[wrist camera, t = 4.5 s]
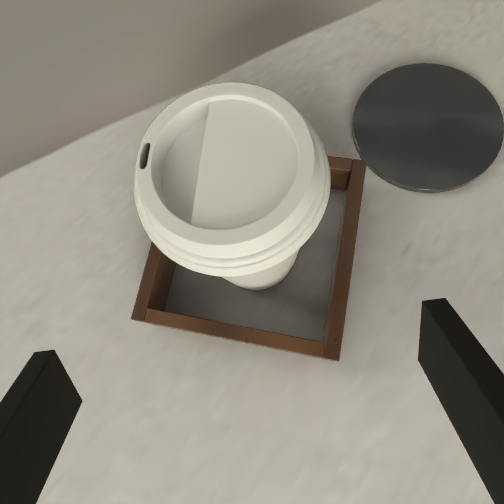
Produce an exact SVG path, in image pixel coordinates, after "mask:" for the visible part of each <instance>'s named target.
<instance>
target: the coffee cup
mask: <svg viewBox="0 0 504 504" xmlns="http://www.w3.org/2000/svg"><path fill="white" fill-rule="evenodd" d="M330 184H331V176H330V167H329V162H328V158H327V155H326V152H325V149H324V147H323V144H322V142H321V140H320V138H319V136H318V134H317V132H316V131H315V129H314V128H313V127H312V125H311V124H310V123H309V122H308V120H307V119H306V118H305V117H304V116H303V115H302V114H301V113H300V112H299V111H298V110H297V109H295V108H294V107H293V106H292V105H291V104H290V103H289V102H288V101H287V100H285V99H284V98H283V97H281V96H280V95H278V94H276V93H274V92H272V91H270V90H268V89H266V88H263V87H260V86H257V85H253V84H247V83H238V82H226V83H217V84H211V85H207V86H204V87H200V88H198V89H195V90H193V91H190V92H188V93H186V94H184V95H183V96H181V97H179V98H178V99H176V100H175V101H173V102H172V103H171V104H169V105H168V106H167V107H166V108H165V109H163V110H162V111H161V112H160V114H159V115H158V116H157V117H156V118H155V119H154V121H153V122H152V123H151V125H150V126H149V128H148V129H147V131H146V133H145V135H144V137H143V139H142V142H141V144H140V147H139V151H138V155H137V161H136V168H135V176H134V194H135V202H136V206H137V210H138V213H139V216H140V219H141V222H142V224H143V227H144V229H145V231H146V232H147V234H148V236H149V237H150V239H151V240H152V241H153V243H154V244H155V245H156V246H157V247H158V248H159V249H160V250H161V251H162V252H163V253H164V254H165V255H166V256H167V257H169V258H170V259H171V260H173V261H174V262H176V263H178V264H179V265H181V266H183V267H185V268H188V269H190V270H193V271H196V272H199V273H202V274H207V275H213V276H221V277H222V278H224V279H226V280H228V281H229V282H231V283H233V284H234V285H236V286H238V287H241V288H244V289H248V290H263V289H267V288H270V287H272V286H274V285H276V284H278V283H279V282H281V281H282V280H283V279H284V278H285V277H286V276H287V275H288V274H289V272H290V271H291V269H292V267H293V265H294V262H295V259H296V257H297V254H298V251H299V249H300V247H301V246H302V245H303V244H304V243H305V242H306V241H307V240H308V239H309V238H310V236H311V235H312V234H313V232H314V231H315V229H316V228H317V226H318V225H319V223H320V221H321V219H322V217H323V215H324V212H325V209H326V206H327V203H328V199H329V194H330Z"/></svg>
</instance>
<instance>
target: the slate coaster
mask: <svg viewBox="0 0 504 504" xmlns="http://www.w3.org/2000/svg"><path fill="white" fill-rule="evenodd" d="M352 136H353V140H354V144H355V146H356V149H357V151H358V153H359V155H360V157H361V158H362V160H365V161H367V162H366V165H367V166H368V167H369V168H370V169H371V170H372V171H373V172H374V173H375V174H376V175H378V176H379V177H380V178H382V179H383V180H385V181H387V182H388V183H390V184H393V185H395V186H397V187H400V188H403V189H406V190H410V191H415V192H424V193H435V192H444V191H449V190H453V189H456V188H459V187H462V186H464V185H466V184H468V183H470V182H472V181H473V180H475V179H476V178H478V177H479V176H480V175H481V174H483V173H484V172H485V171H486V170H487V169H488V167H489V166H490V165H491V164H492V163H493V161H494V160H495V159H496V157H497V155H498V153H499V151H500V149H501V145H502V142H503V136H504V122H503V117H502V113H501V111H500V108H499V106H498V104H497V102H496V100H495V98H494V97H493V96H492V94H491V93H490V92H489V91H488V90H487V88H486V87H485V86H484V85H483V84H481V83H480V82H479V81H478V80H476V79H475V78H473V77H472V76H470V75H469V74H467V73H465V72H462V71H460V70H458V69H455V68H452V67H449V66H445V65H439V64H431V63H420V64H411V65H405V66H402V67H398V68H395V69H393V70H391V71H388V72H386V73H385V74H383V75H381V76H380V77H378V78H377V79H376V80H374V81H373V82H372V83H371V84H370V85H369V86H368V87H367V88H366V89H365V91H364V92H363V93H362V95H361V96H360V98H359V100H358V102H357V104H356V107H355V110H354V114H353V119H352Z"/></svg>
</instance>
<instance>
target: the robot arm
mask: <svg viewBox="0 0 504 504" xmlns="http://www.w3.org/2000/svg"><path fill="white" fill-rule="evenodd" d="M418 361H419V363H420V364H421V366H422V368H423V370H424V372H425V374H426V376H427V378H428V380H429V381H430V383H431V385H432V387H433V389H434V391H435V393H436V395H437V396H438V398H439V400H440V402H441V404H442V406H443V408H444V410H445V411H446V413H447V415H448V417H449V419H450V421H451V423H452V425H453V426H454V428H455V430H456V432H457V434H458V436H459V438H460V440H461V441H462V443H463V445H464V447H465V449H466V451H467V453H468V455H469V456H470V458H471V460H472V462H473V464H474V466H475V468H476V470H477V471H478V473H479V475H480V477H481V479H482V481H483V483H484V485H485V486H486V488H487V490H488V492H489V494H490V496H491V498H492V500H493V501H494V503H495V504H504V374H503V373H502V372H501V370H500V369H499V368H498V366H497V365H496V364H495V362H494V361H493V360H492V358H491V357H490V356H489V355H488V353H487V352H486V351H485V349H484V348H483V347H482V345H481V344H480V343H479V341H478V340H477V339H476V338H475V336H474V335H473V334H472V332H471V331H470V330H469V328H468V327H467V326H466V324H465V323H464V322H463V321H462V319H461V318H460V317H459V315H458V314H457V313H456V311H455V310H454V309H453V307H452V306H451V305H450V304H449V302H448V301H447V300H446V298H441V299H434V300H426V301H422V311H421V325H420V339H419V353H418ZM81 403H82V399H81V397H80V396H79V394H78V392H77V390H76V388H75V386H74V385H73V383H72V381H71V379H70V377H69V376H68V374H67V372H66V370H65V368H64V366H63V365H62V363H61V361H60V359H59V357H58V355H57V354H56V352H55V350H49V351H41V352H34V354H33V355H32V357H31V358H30V359H29V361H28V362H27V364H26V365H25V367H24V368H23V370H22V371H21V373H20V374H19V376H18V377H17V379H16V380H15V382H14V383H13V385H12V386H11V388H10V389H9V390H8V392H7V393H6V395H5V396H4V398H3V399H2V401H1V402H0V504H36V502H37V500H38V498H39V496H40V494H41V491H42V489H43V487H44V485H45V483H46V480H47V478H48V476H49V474H50V472H51V469H52V467H53V465H54V463H55V461H56V458H57V456H58V454H59V452H60V449H61V447H62V445H63V443H64V441H65V438H66V436H67V434H68V432H69V430H70V427H71V425H72V423H73V421H74V419H75V416H76V414H77V412H78V410H79V408H80V405H81Z"/></svg>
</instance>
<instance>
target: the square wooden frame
mask: <svg viewBox="0 0 504 504" xmlns="http://www.w3.org/2000/svg"><path fill="white" fill-rule="evenodd" d="M327 158H328V162H329V167H330V176H331V184H330V188H333V189H341V190H345V196H344V202H343V209H342V216H341V222H340V229H339V236H338V243H337V249H336V256H335V263H334V269H333V276H332V283H331V289H330V296H329V303H328V309H327V316H326V323H325V329H324V336H323V342H318V341H313V340H308V339H303V338H298V337H293V336H288V335H283V334H278V333H273V332H268V331H262V330H257V329H252V328H247V327H242V326H237V325H232V324H227V323H222V322H217V321H212V320H207V319H202V318H196V317H191V316H186V315H181V314H176V313H171V312H166V311H164V307H165V303H166V299H167V296H168V292H169V288H170V284H171V280H172V276H173V272H174V268H175V264H176V262H174V261H173V260H171V259H170V258H169V257H167V256H166V255H165V254H164V253H163V252H162V251H161V250H160V249H159V248H158V247H157V246H156V245H155V244H154V243H153V241H152V243H151V247H150V251H149V254H148V258H147V262H146V265H145V269H144V273H143V276H142V280H141V284H140V287H139V291H138V294H137V298H136V302H135V305H134V309H133V313H132V316H131V319H132V320H136V321H141V322H145V323H149V324H154V325H159V326H164V327H169V328H174V329H179V330H184V331H188V332H193V333H198V334H203V335H208V336H213V337H218V338H223V339H228V340H233V341H238V342H242V343H247V344H252V345H257V346H262V347H267V348H272V349H277V350H282V351H287V352H292V353H297V354H301V355H306V356H311V357H316V358H321V359H326V360H331V361H339V358H340V351H341V343H342V336H343V329H344V322H345V314H346V307H347V300H348V293H349V285H350V278H351V271H352V263H353V256H354V249H355V242H356V234H357V227H358V220H359V213H360V205H361V198H362V191H363V184H364V176H365V169H366V162H367V161H365V160H357V159H353V160H352V159H348V158H340V157H332V156H327Z"/></svg>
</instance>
